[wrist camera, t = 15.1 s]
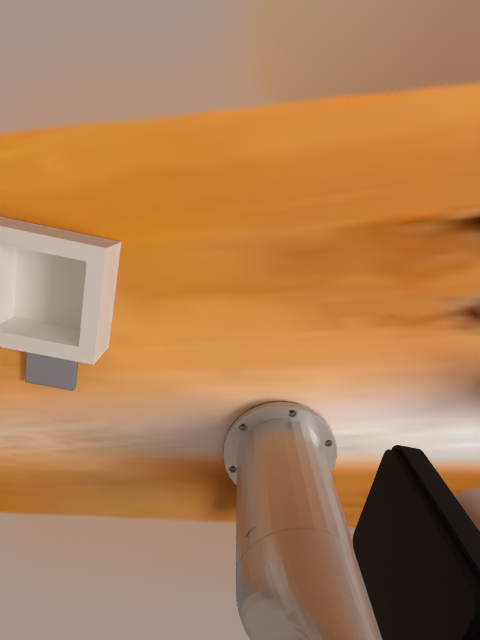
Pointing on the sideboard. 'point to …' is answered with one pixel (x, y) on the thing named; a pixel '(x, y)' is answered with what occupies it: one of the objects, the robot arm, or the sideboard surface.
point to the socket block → (55, 298)
